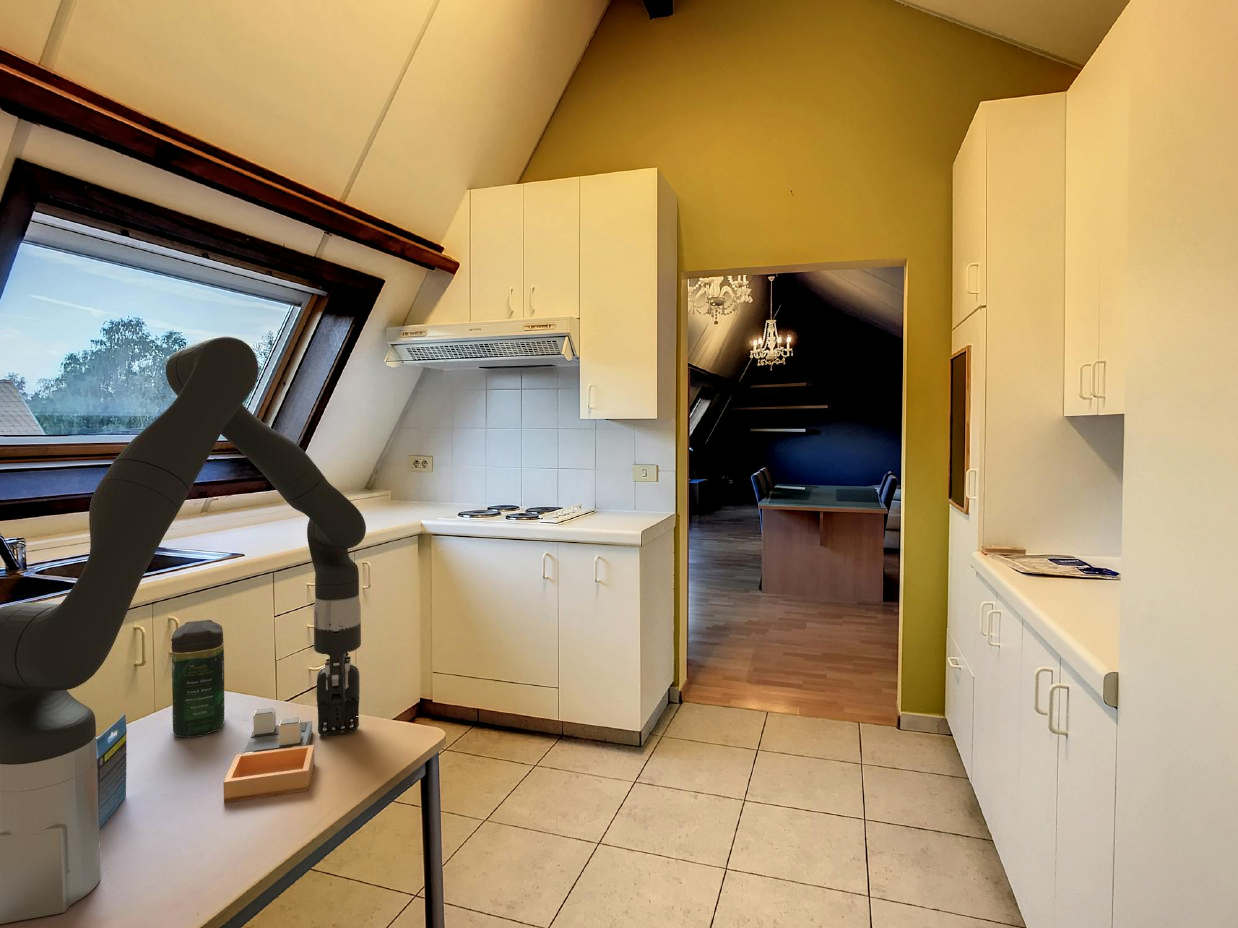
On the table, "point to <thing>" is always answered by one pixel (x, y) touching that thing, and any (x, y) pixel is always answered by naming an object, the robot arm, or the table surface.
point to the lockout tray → (269, 773)
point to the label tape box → (111, 769)
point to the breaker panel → (277, 740)
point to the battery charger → (350, 704)
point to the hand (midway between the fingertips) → (338, 718)
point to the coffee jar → (197, 678)
